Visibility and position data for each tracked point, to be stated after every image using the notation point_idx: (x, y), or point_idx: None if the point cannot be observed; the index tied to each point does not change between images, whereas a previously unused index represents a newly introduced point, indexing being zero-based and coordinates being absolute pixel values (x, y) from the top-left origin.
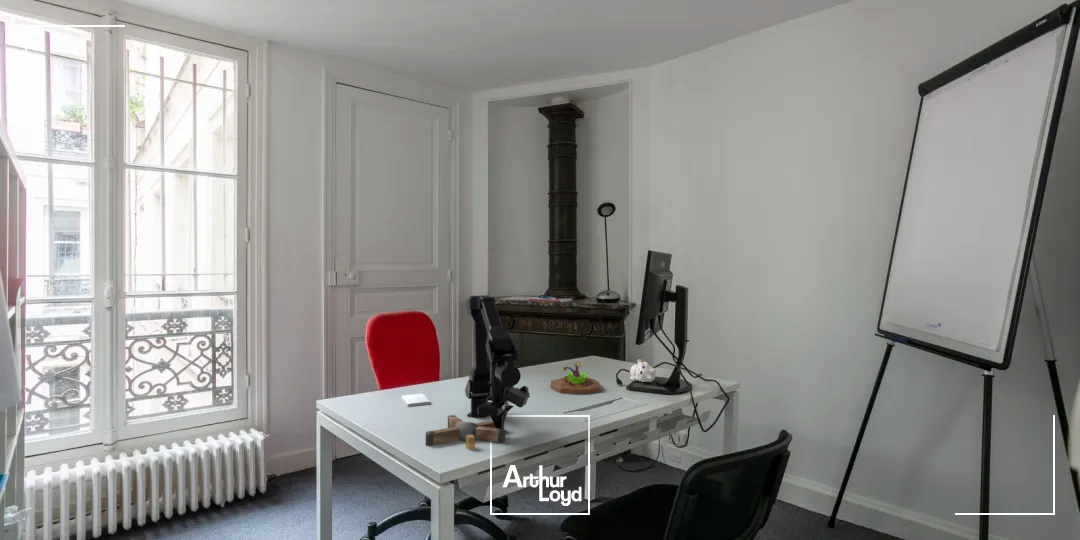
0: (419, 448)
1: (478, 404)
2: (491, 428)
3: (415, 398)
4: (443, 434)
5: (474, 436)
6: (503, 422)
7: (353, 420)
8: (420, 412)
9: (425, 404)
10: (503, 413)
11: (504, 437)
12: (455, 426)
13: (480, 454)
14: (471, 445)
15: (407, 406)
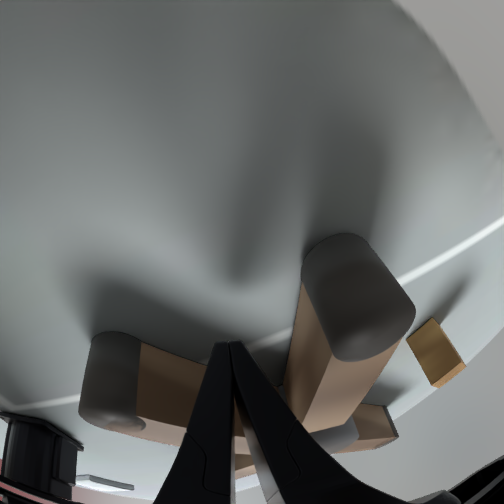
0: (402, 405)
1: (60, 477)
2: (332, 393)
3: (99, 487)
4: (377, 430)
5: (458, 363)
6: (232, 409)
7: (248, 488)
8: (144, 479)
9: (100, 479)
10: (447, 492)
11: (373, 256)
12: None
13: (490, 262)
14: (445, 334)
15: (133, 486)
